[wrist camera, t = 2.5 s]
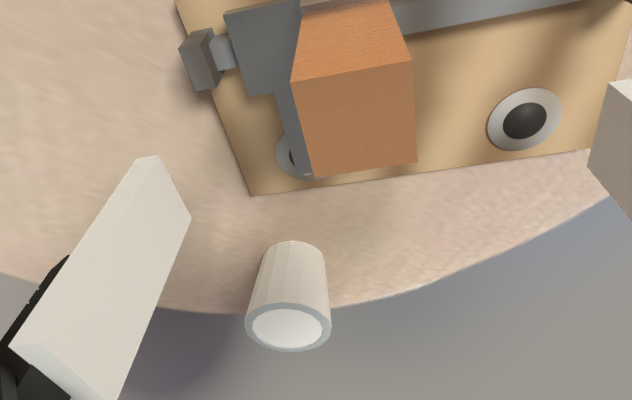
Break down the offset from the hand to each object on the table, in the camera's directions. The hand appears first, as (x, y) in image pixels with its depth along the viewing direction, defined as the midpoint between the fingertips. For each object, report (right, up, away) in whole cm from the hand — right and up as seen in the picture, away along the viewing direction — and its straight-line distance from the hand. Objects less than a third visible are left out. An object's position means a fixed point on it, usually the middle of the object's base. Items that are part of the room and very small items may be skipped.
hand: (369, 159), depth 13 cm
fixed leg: (-3, +5, +12) cm, 14 cm away
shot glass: (-4, -7, +25) cm, 26 cm away
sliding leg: (+1, +6, +11) cm, 13 cm away
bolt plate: (+4, +7, +13) cm, 15 cm away
